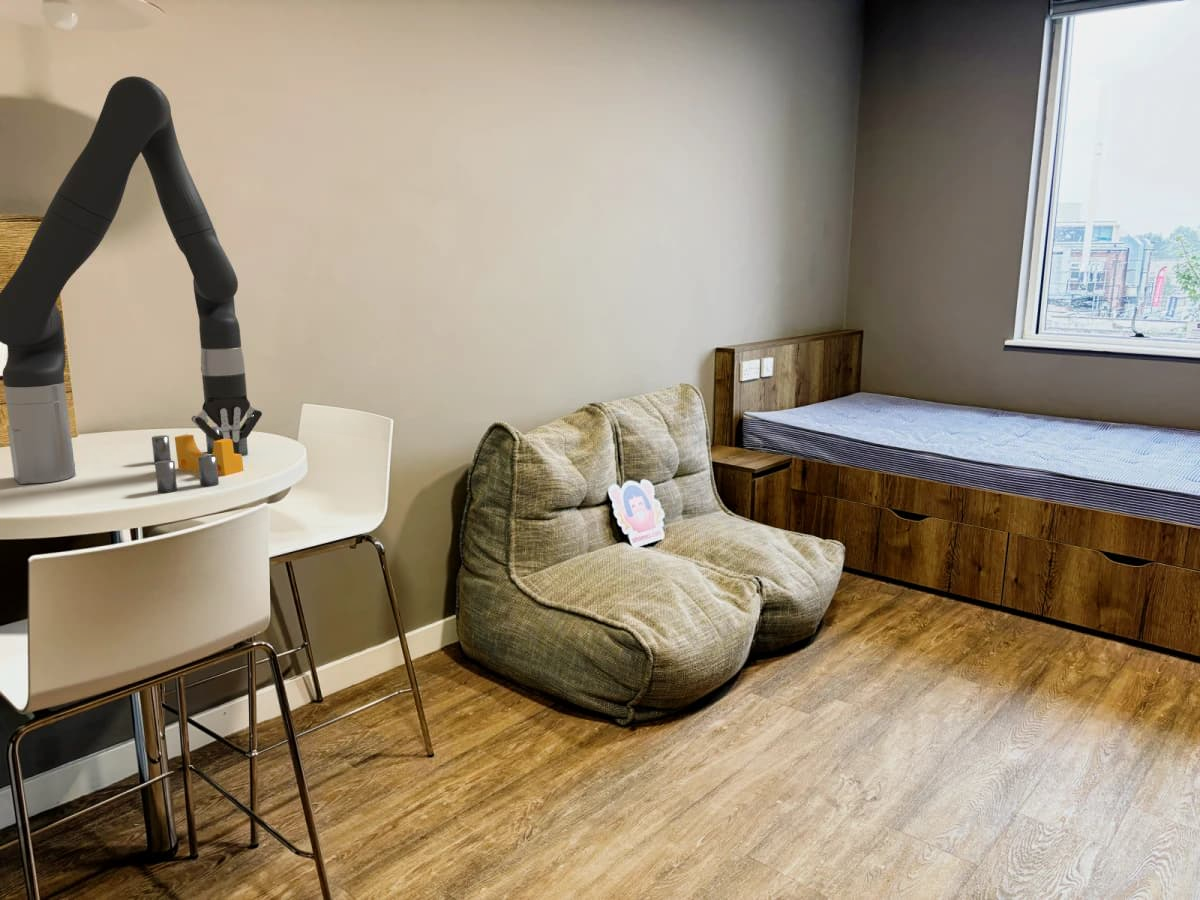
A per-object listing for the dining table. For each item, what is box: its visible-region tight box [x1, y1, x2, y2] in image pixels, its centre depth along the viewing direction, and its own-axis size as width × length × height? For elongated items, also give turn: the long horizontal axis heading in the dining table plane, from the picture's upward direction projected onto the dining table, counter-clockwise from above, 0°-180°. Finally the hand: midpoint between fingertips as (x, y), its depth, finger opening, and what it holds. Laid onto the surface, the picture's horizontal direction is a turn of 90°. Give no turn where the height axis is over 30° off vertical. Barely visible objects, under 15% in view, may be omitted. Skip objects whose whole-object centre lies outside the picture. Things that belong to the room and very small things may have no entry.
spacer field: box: [151, 426, 249, 494], centre depth 171 cm, size 23×31×5 cm
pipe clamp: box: [174, 434, 244, 477], centre depth 170 cm, size 12×4×6 cm, turn 65°
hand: (231, 461), depth 173 cm, fingers closed
